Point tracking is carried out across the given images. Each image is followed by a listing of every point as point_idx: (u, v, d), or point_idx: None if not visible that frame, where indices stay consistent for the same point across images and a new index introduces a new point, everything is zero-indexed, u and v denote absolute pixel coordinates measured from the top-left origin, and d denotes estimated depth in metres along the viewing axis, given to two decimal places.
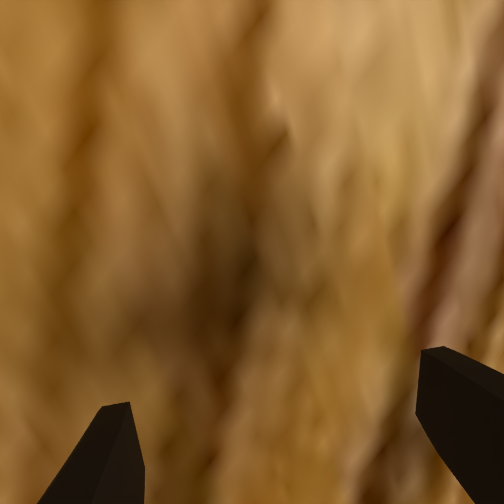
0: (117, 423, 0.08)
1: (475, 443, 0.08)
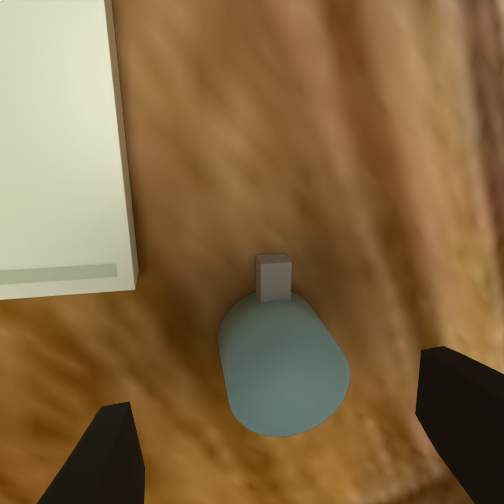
0: (117, 423, 0.08)
1: (475, 443, 0.08)
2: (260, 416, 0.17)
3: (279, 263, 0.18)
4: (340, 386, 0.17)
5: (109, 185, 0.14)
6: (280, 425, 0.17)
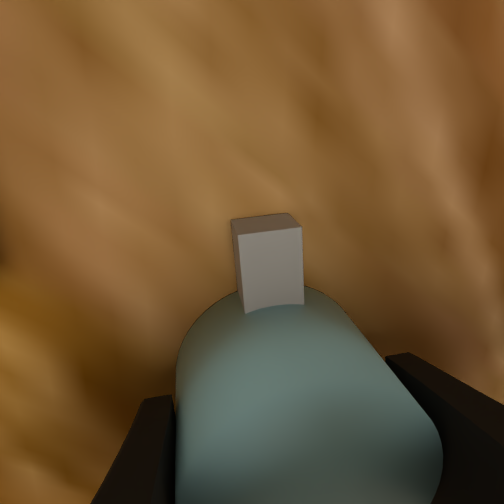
0: (164, 415, 0.08)
1: None
2: None
3: (277, 231, 0.09)
4: (422, 484, 0.08)
5: None
6: None
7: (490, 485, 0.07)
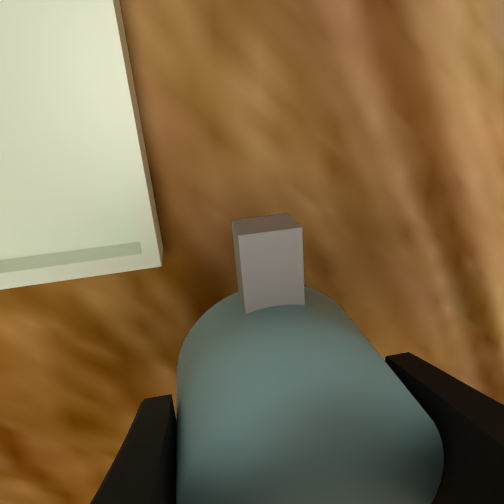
0: (164, 414, 0.08)
1: None
2: None
3: (277, 231, 0.09)
4: (423, 483, 0.08)
5: (125, 153, 0.13)
6: None
7: (490, 485, 0.07)
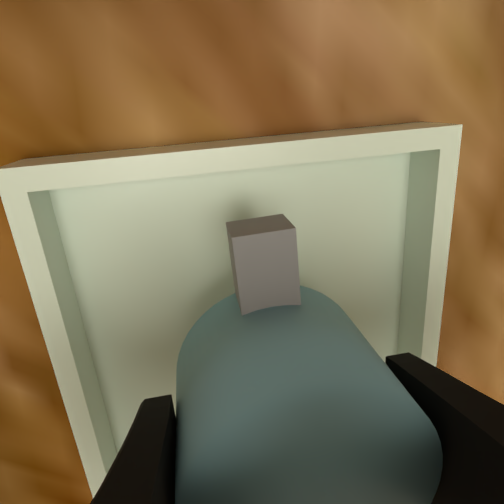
0: (164, 414, 0.08)
1: None
2: None
3: (271, 232, 0.09)
4: (423, 482, 0.08)
5: None
6: None
7: (490, 485, 0.07)
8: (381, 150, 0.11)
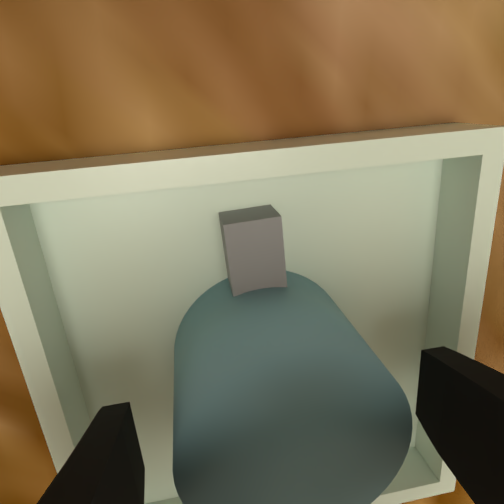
0: (117, 423, 0.08)
1: (475, 443, 0.08)
2: None
3: (258, 220, 0.09)
4: (395, 443, 0.09)
5: None
6: None
7: None
8: (415, 156, 0.09)
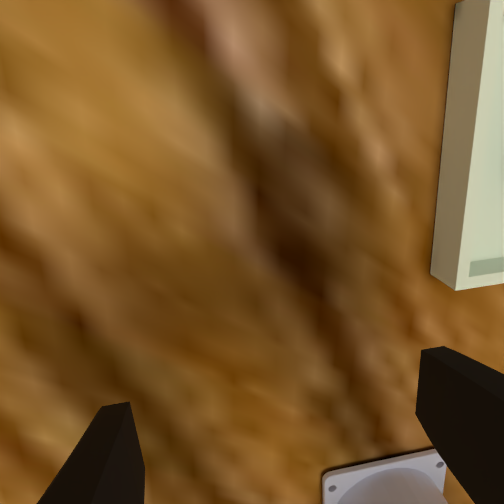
0: (117, 423, 0.08)
1: (475, 443, 0.08)
2: None
3: None
4: None
5: None
6: None
7: None
8: None
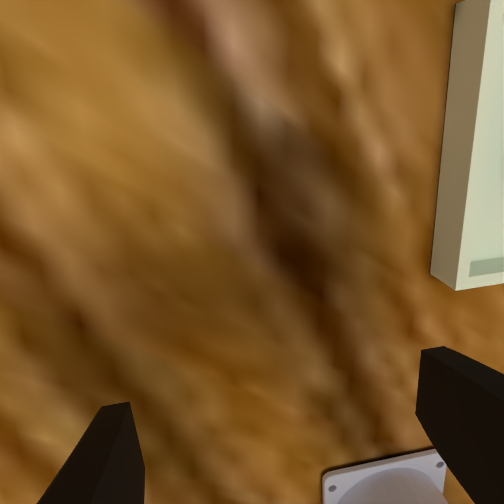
0: (117, 423, 0.08)
1: (475, 442, 0.08)
2: None
3: None
4: None
5: None
6: None
7: None
8: None
